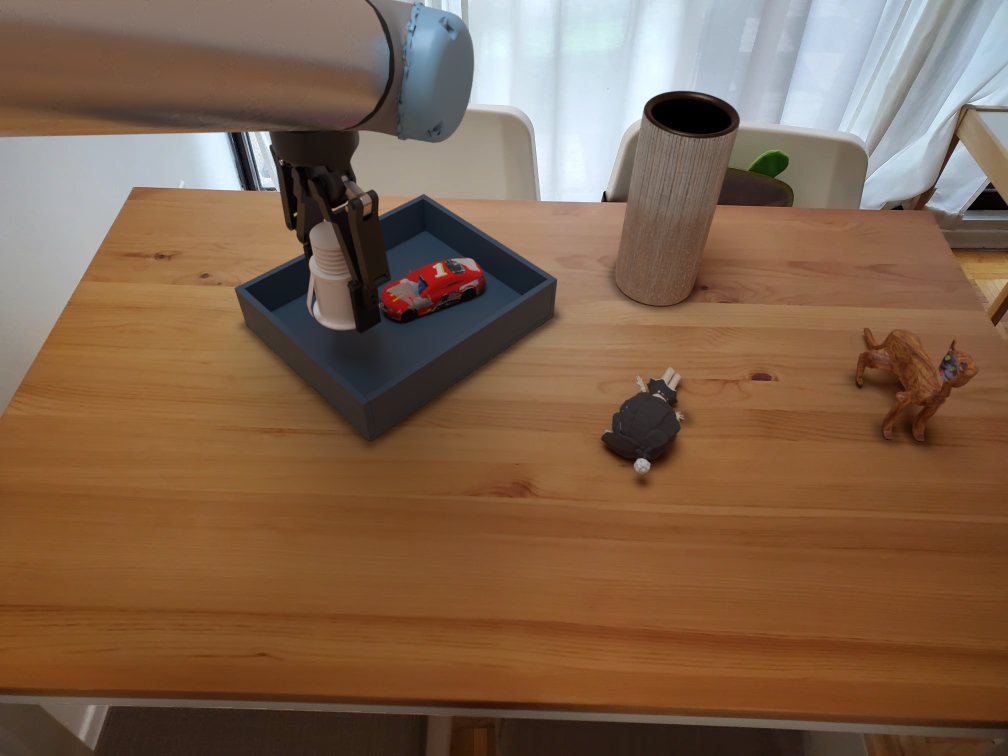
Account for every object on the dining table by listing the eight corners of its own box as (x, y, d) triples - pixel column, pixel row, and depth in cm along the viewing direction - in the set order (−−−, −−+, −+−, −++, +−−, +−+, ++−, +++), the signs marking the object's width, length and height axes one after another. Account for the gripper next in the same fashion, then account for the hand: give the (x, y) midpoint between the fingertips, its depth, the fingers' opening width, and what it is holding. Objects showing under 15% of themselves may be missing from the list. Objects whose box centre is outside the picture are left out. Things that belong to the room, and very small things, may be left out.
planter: (686, 257, 95) (730, 91, 78) (698, 308, 88) (750, 137, 72) (611, 255, 95) (638, 88, 78) (617, 306, 88) (649, 134, 72)
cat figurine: (833, 334, 86) (880, 240, 76) (889, 336, 86) (943, 243, 76) (878, 455, 74) (941, 363, 64) (943, 459, 74) (1017, 367, 63)
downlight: (365, 279, 81) (354, 203, 74) (395, 314, 77) (386, 238, 70) (299, 304, 78) (280, 228, 71) (326, 343, 74) (310, 266, 67)
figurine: (634, 365, 81) (580, 451, 71) (671, 335, 76) (617, 423, 66) (680, 406, 81) (632, 497, 71) (719, 378, 76) (674, 472, 66)
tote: (370, 442, 73) (363, 405, 69) (246, 325, 84) (233, 287, 80) (553, 316, 87) (557, 279, 82) (426, 230, 98) (423, 193, 93)
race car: (390, 329, 83) (387, 303, 80) (373, 302, 87) (369, 276, 84) (491, 295, 88) (492, 269, 85) (471, 270, 91) (471, 244, 88)
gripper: (420, 134, 58) (434, 338, 75) (281, 53, 67) (322, 251, 84) (343, 168, 54) (376, 375, 71) (208, 77, 63) (265, 279, 80)
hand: (346, 307), depth 77 cm, fingers closed on downlight, 7 cm apart
